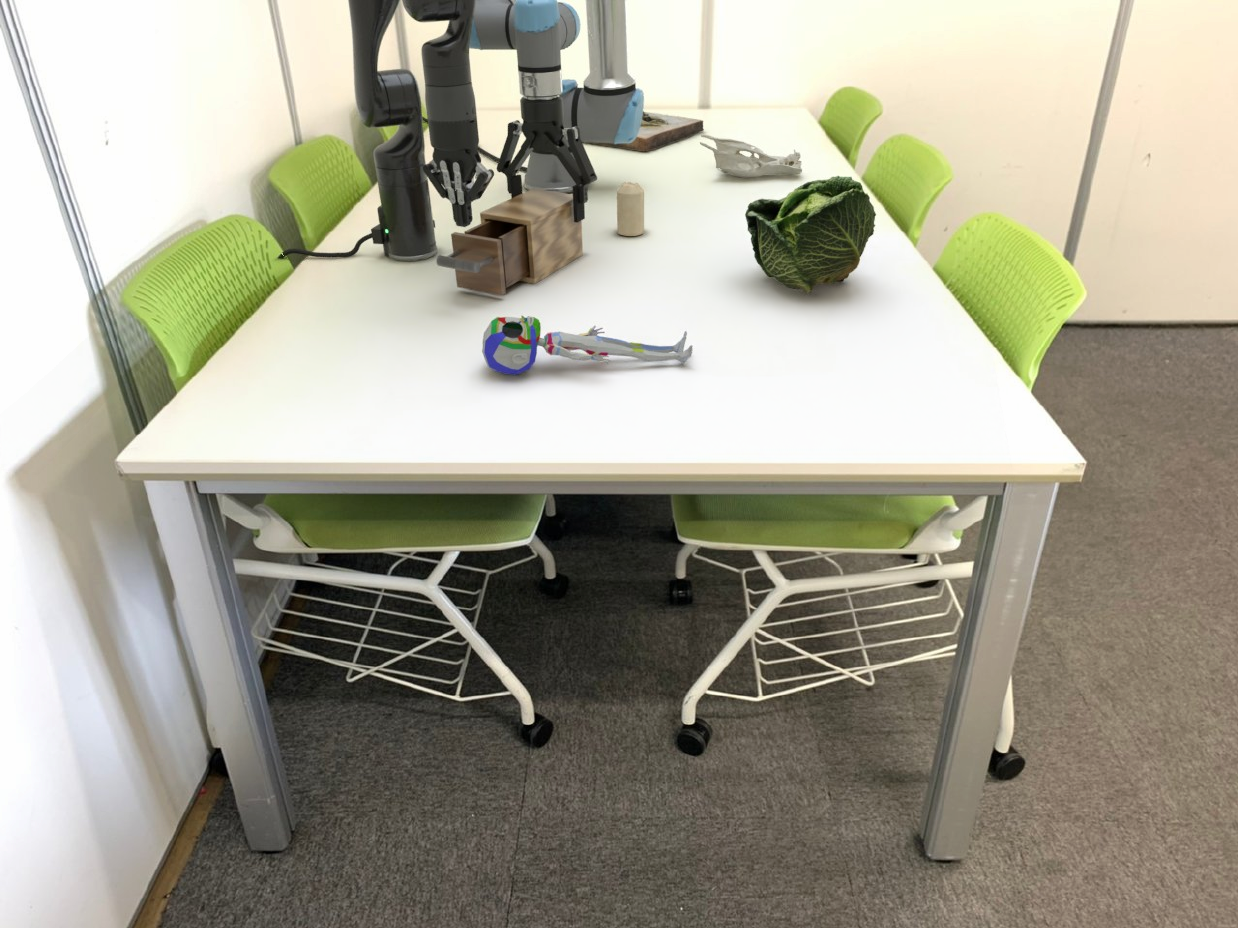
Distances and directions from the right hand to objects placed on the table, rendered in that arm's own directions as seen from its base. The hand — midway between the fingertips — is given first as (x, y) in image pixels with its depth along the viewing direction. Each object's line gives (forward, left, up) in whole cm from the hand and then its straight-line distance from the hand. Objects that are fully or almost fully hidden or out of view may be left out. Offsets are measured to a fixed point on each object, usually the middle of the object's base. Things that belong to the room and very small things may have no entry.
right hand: (548, 215), depth 169 cm
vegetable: (+45, +20, -8) cm, 50 cm away
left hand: (+7, -25, +5) cm, 26 cm away
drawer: (+5, -17, -7) cm, 19 cm away
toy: (+40, -29, -8) cm, 50 cm away
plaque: (-58, +85, -8) cm, 104 cm away
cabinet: (+2, -5, -8) cm, 9 cm away
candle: (+2, +20, -8) cm, 22 cm away
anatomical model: (-7, +72, -8) cm, 73 cm away
